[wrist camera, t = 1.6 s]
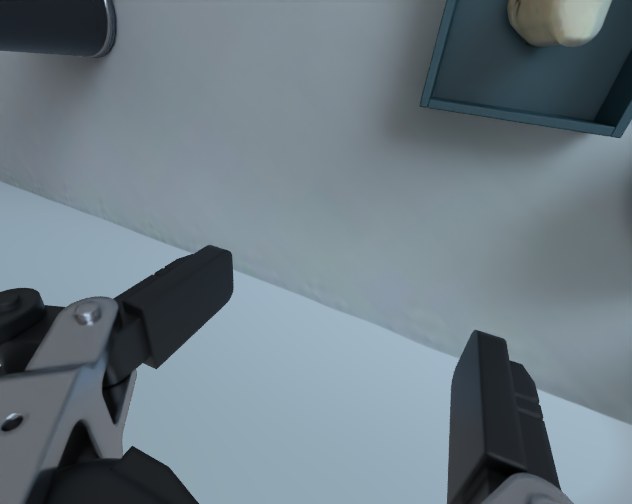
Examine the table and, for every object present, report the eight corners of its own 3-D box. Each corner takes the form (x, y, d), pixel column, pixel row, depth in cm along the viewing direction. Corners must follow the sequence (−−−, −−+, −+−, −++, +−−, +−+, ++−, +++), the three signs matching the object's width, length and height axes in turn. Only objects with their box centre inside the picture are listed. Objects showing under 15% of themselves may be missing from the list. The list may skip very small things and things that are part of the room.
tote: (423, 103, 28) (419, 106, 24) (486, -137, 21) (493, -182, 17) (596, 129, 25) (621, 138, 21) (744, -144, 17) (819, -202, 14)
